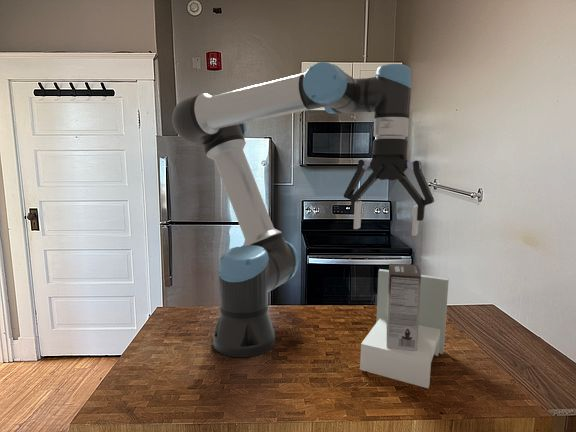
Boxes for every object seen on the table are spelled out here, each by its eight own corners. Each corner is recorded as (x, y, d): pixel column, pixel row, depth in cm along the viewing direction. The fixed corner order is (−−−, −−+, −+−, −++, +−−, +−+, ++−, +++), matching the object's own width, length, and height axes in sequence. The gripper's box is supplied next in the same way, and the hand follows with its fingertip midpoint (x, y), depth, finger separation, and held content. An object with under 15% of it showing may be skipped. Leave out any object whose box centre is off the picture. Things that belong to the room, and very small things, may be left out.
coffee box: (385, 329, 87) (388, 262, 85) (414, 332, 85) (418, 264, 83) (386, 348, 78) (389, 273, 76) (418, 352, 76) (422, 276, 74)
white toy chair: (355, 368, 81) (358, 288, 79) (377, 336, 96) (380, 269, 94) (433, 389, 74) (439, 302, 71) (443, 351, 89) (448, 278, 86)
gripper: (332, 138, 87) (329, 227, 90) (447, 136, 74) (438, 240, 77) (344, 140, 93) (341, 223, 96) (452, 138, 81) (444, 235, 84)
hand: (384, 231), depth 87 cm, fingers open, 13 cm apart
